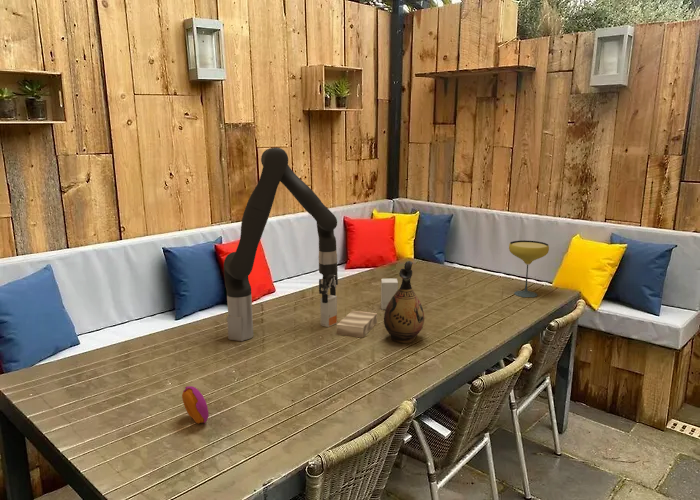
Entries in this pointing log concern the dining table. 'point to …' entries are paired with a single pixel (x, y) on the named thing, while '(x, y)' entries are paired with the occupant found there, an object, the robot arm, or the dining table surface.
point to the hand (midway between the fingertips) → (329, 299)
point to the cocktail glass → (528, 257)
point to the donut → (195, 404)
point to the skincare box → (329, 311)
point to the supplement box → (388, 291)
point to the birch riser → (357, 323)
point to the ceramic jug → (404, 311)
